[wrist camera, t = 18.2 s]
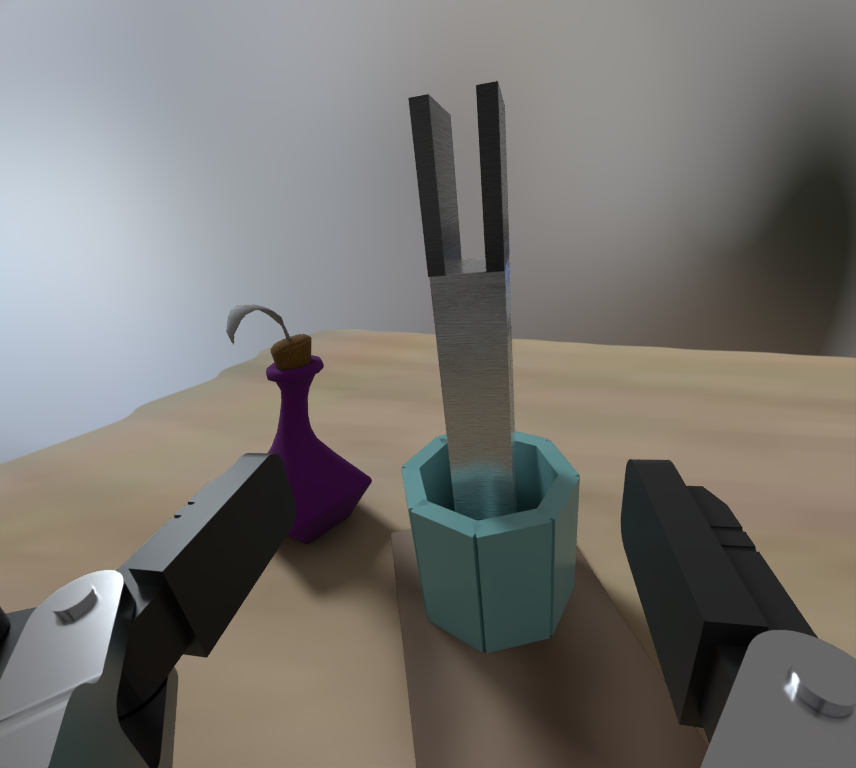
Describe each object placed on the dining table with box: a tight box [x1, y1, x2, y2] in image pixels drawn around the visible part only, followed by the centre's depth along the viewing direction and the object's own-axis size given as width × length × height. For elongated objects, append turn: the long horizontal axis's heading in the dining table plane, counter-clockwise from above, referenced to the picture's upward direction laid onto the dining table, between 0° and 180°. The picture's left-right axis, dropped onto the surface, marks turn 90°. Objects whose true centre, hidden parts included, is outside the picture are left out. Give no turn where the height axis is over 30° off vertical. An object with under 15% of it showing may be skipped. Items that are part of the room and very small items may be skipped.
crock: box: [401, 431, 580, 654], centre depth 24 cm, size 9×9×8 cm
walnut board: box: [391, 529, 708, 768], centre depth 19 cm, size 12×27×1 cm, turn 9°
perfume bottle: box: [226, 305, 372, 544], centre depth 30 cm, size 8×8×18 cm
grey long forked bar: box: [409, 81, 517, 521], centre depth 20 cm, size 4×4×24 cm
